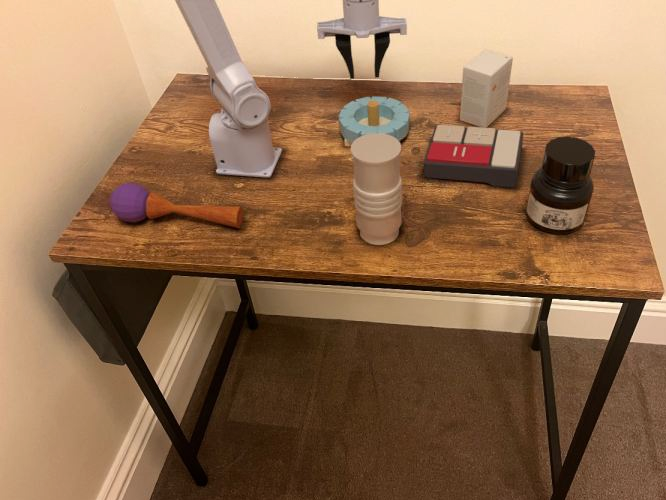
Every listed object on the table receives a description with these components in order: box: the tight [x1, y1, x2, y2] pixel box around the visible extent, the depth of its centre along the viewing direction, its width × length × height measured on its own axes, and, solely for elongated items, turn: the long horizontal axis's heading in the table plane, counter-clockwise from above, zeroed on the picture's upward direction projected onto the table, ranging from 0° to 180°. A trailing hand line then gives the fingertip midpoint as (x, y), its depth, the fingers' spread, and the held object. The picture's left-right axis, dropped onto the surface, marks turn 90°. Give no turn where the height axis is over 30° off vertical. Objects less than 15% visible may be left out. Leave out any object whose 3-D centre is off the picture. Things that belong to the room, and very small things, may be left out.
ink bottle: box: [525, 136, 596, 235], centre depth 90 cm, size 10×9×12 cm
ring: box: [338, 95, 411, 143], centre depth 109 cm, size 12×12×3 cm
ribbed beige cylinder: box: [350, 133, 403, 246], centre depth 88 cm, size 7×7×15 cm
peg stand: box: [343, 101, 391, 148], centre depth 109 cm, size 9×9×6 cm
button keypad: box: [423, 124, 524, 189], centre depth 103 cm, size 11×4×15 cm
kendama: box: [109, 182, 245, 229], centre depth 94 cm, size 6×6×20 cm
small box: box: [459, 48, 514, 128], centre depth 110 cm, size 8×6×10 cm
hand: (364, 75), depth 107 cm, fingers open, 4 cm apart
